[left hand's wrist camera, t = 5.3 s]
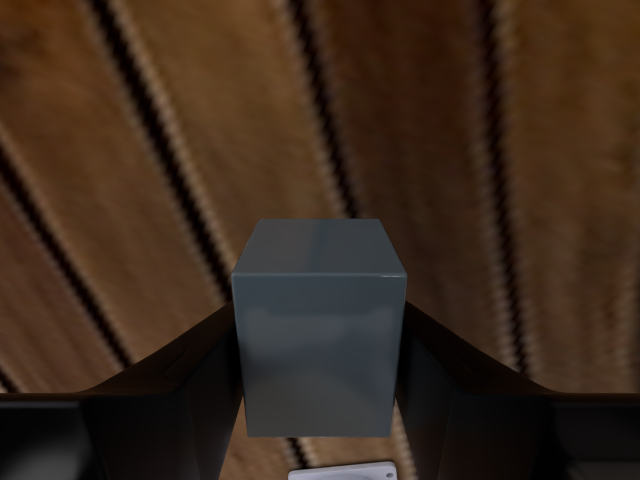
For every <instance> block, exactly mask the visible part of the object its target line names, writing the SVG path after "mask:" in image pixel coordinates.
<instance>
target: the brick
mask: <svg viewBox="0 0 640 480" xmlns="http://www.w3.org/2000/svg"><path fill="white" fill-rule="evenodd" d="M407 281H408V274H407V272H406V270H405V268H404V266H403V264H402V262H401V260H400V258H399V256H398V254H397V252H396V250H395V248H394V246H393V244H392V242H391V240H390V238H389V236H388V234H387V232H386V230H385V228H384V226H383V224H382V222H381V220H380V219H259V220H258V222H257V224H256V226H255V228H254V230H253V232H252V234H251V236H250V238H249V240H248V242H247V244H246V246H245V248H244V250H243V252H242V254H241V256H240V258H239V260H238V262H237V264H236V266H235V268H234V270H233V271H232V274H231V283H232V292H233V302H234V311H235V321H236V330H237V340H238V350H239V359H240V369H241V378H242V388H243V397H244V407H245V417H246V426H247V434H248V437H390V436H391V433H392V423H393V414H394V404H395V395H396V385H397V376H398V366H399V357H400V347H401V338H402V328H403V319H404V309H405V300H406V290H407Z"/></svg>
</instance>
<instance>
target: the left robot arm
mask: <svg viewBox="0 0 640 480" xmlns="http://www.w3.org/2000/svg"><path fill="white" fill-rule="evenodd" d="M395 396H396V399H397V403H398V406H399V410H400V413H401V417H402V420H403V423H404V427H405V430H406V434H407V437H408V441H409V444H410V447H411V451H412V454H413V458H414V461H415V465H416V468H417V472H418V475H419V478H420V480H640V393H562V392H557V391H553V390H550V389H548V388H545V387H543V386H541V385H539V384H537V383H535V382H533V381H532V380H530V379H528V378H526V377H525V376H523V375H521V374H519V373H518V372H516V371H514V370H512V369H511V368H509V367H507V366H505V365H504V364H502V363H500V362H498V361H497V360H495V359H493V358H492V357H490V356H488V355H487V354H485V353H483V352H482V351H480V350H479V349H477V348H476V347H474V346H472V345H471V344H469V343H468V342H466V341H465V340H464V339H462V338H460V337H459V336H458V335H456V334H455V333H453V332H452V331H450V330H449V329H447V328H446V327H444V326H443V325H441V324H440V323H439V322H437V321H436V320H434V319H433V318H431V317H430V316H428V315H427V314H425V313H424V312H422V311H421V310H420V309H418V308H417V307H415V306H414V305H412V304H411V303H409V302H408V301H406V300H405V309H404V319H403V328H402V338H401V347H400V357H399V366H398V376H397V385H396V395H395ZM242 397H243V388H242V378H241V369H240V359H239V350H238V340H237V330H236V321H235V311H234V302H233V300H232V301H231V302H229V303H228V304H226V305H225V306H223V307H222V308H220V309H219V310H217V311H216V312H214V313H213V314H211V315H210V316H208V317H207V318H206V319H204V320H203V321H201V322H200V323H198V324H197V325H195V326H194V327H192V328H191V329H189V330H188V331H186V332H185V333H183V334H182V335H180V336H179V337H178V338H176V339H174V340H173V341H171V342H170V343H169V344H167V345H165V346H164V347H162V348H161V349H159V350H158V351H156V352H155V353H153V354H151V355H150V356H148V357H146V358H144V359H143V360H141V361H139V362H138V363H136V364H134V365H132V366H130V367H129V368H127V369H125V370H123V371H122V372H120V373H118V374H116V375H115V376H113V377H111V378H109V379H108V380H106V381H104V382H102V383H100V384H99V385H97V386H95V387H92V388H90V389H87V390H84V391H80V392H75V393H0V480H218V479H219V475H220V472H221V468H222V465H223V462H224V458H225V455H226V451H227V448H228V445H229V441H230V438H231V434H232V431H233V428H234V424H235V421H236V417H237V414H238V411H239V407H240V404H241V400H242Z"/></svg>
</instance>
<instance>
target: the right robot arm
mask: <svg viewBox="0 0 640 480" xmlns="http://www.w3.org/2000/svg"><path fill="white" fill-rule="evenodd" d="M288 480H397V473H396V466H395V464H394V463H393V462H390V461H387V462H377V463H367V464H356V465H346V466H336V467H326V468H315V469H305V470H295V471H291V472H290V473H289V475H288Z"/></svg>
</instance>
